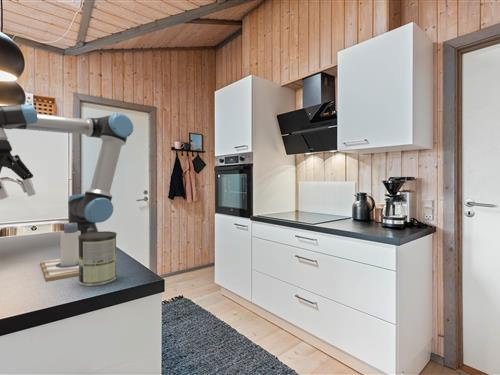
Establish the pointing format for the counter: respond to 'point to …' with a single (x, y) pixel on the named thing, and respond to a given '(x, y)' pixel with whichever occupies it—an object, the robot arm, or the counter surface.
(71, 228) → the dome-capped white pillar
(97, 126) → the robot arm
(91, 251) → the coffee can
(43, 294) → the counter surface
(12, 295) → the counter surface
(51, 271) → the picture frame
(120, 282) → the counter surface
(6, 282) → the counter surface
